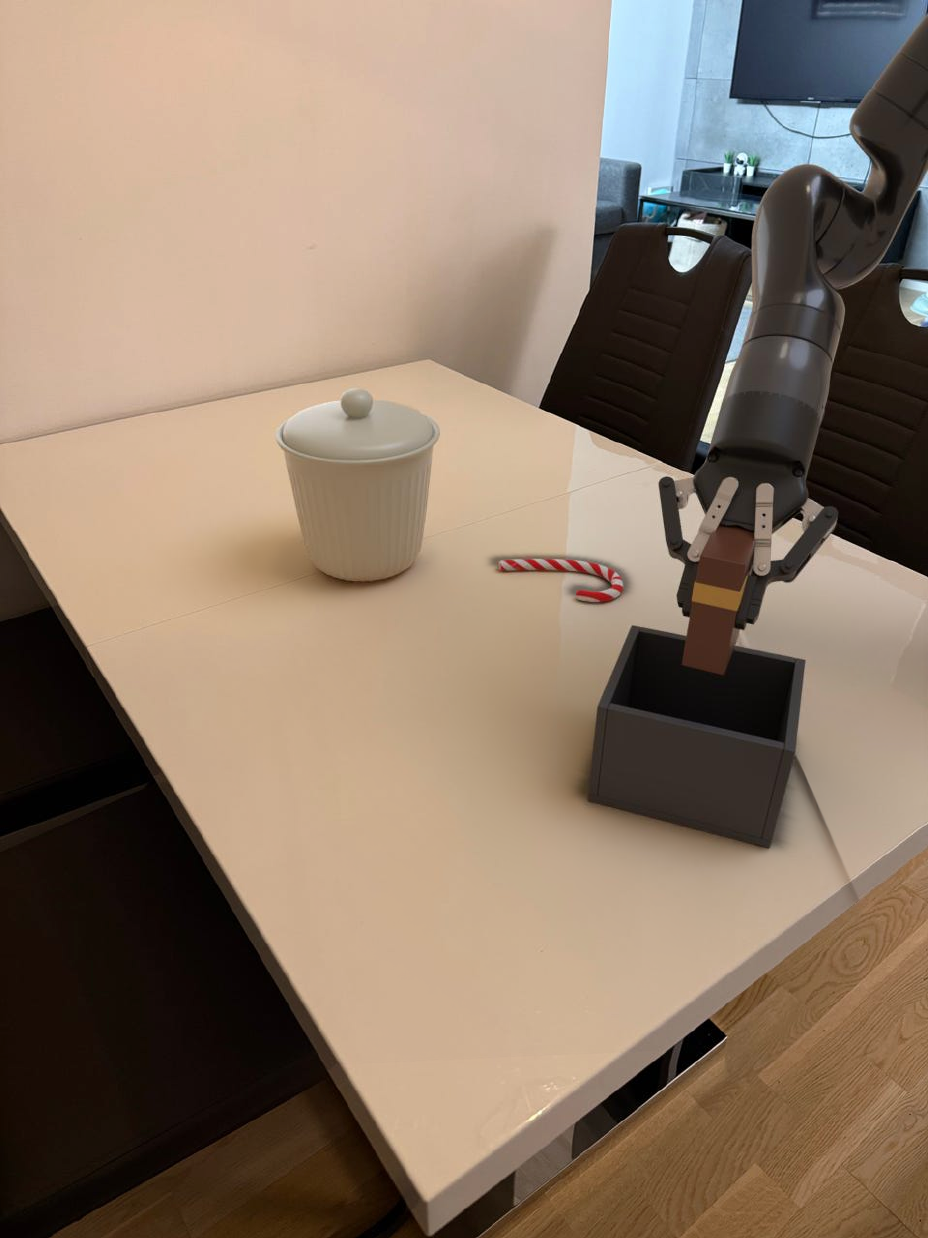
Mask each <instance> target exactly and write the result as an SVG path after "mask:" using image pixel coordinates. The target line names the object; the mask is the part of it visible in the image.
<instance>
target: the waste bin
mask: <svg viewBox="0 0 928 1238" xmlns="http://www.w3.org/2000/svg"><path fill="white" fill-rule="evenodd" d="M686 636H687V635H685V634H680V633H674V632H669V631H665V630H660V629H655V628H650V627H645V626H640V625H636V624H635V625H634V624H631V626H630V627H629V631H628V633H627V636H626V638H625V640H624V643H623V645H622V647H621V650H620V652H619V655H618V657H617V659H616V661H615V664H614V666H613V668H612V670H611V674H610V676H609V678H608V680H607V683H606V685H605V687H604V689H603V692H602V695H601V697H600V699H599V702H598V704H597V709H596V717H595V726H594V735H593V743H592V753H591V760H590V761H591V762H590V770H589V771H590V772H589V779H588V780H589V781H588V790H587V791H588V792H587V799H586V800H587V801H588V802H592V803H596V804H600V805H603V806H608V807H611V808H614V809H618V810H623V811H625V812H630V813H634V814H637V815H642V816H645V817H649V818H653V819H657V820H660V821H661V820H662V821H664V822H668V823H672V824H675V825H680V826H682V827H686V828H687V827H688V828H691V829H695V830H699V831H702V832H705V833H711V834H714V835H717V836H721V837H725V838H729V839H733V840H737V841H740V842H744V843H747V844H752V845H756V846H759V847H763V848H767V849H770V848H771V847H772V842H773V839H774V835H775V831H776V828H777V824H778V819H779V816H780V812H781V809H782V804H783V801H784V797H785V792H786V789H787V786H788V781H789V777H790V774H791V770H792V766H793V762H794V758H795V755H796V748H797V742H798V732H799V725H800V724H799V723H800V713H801V705H802V698H803V688H804V679H805V671H806V670H805V669H806V659H804V658H799V657H794V656H789V655H785V654H779V653H775V652H769V651H765V650H758V649H754V648H749V647H744V646H739V645H735V647H734V650H733V652H732V655H731V657H730V660H729V663H728V665H727V668H726V671H725V673H724V675H720V674H716V673H712V672H708V671H704V670H700V669H696V668H692V667H688V666H684V665H682V660H683V654H684V648H685V642H686Z"/></svg>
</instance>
